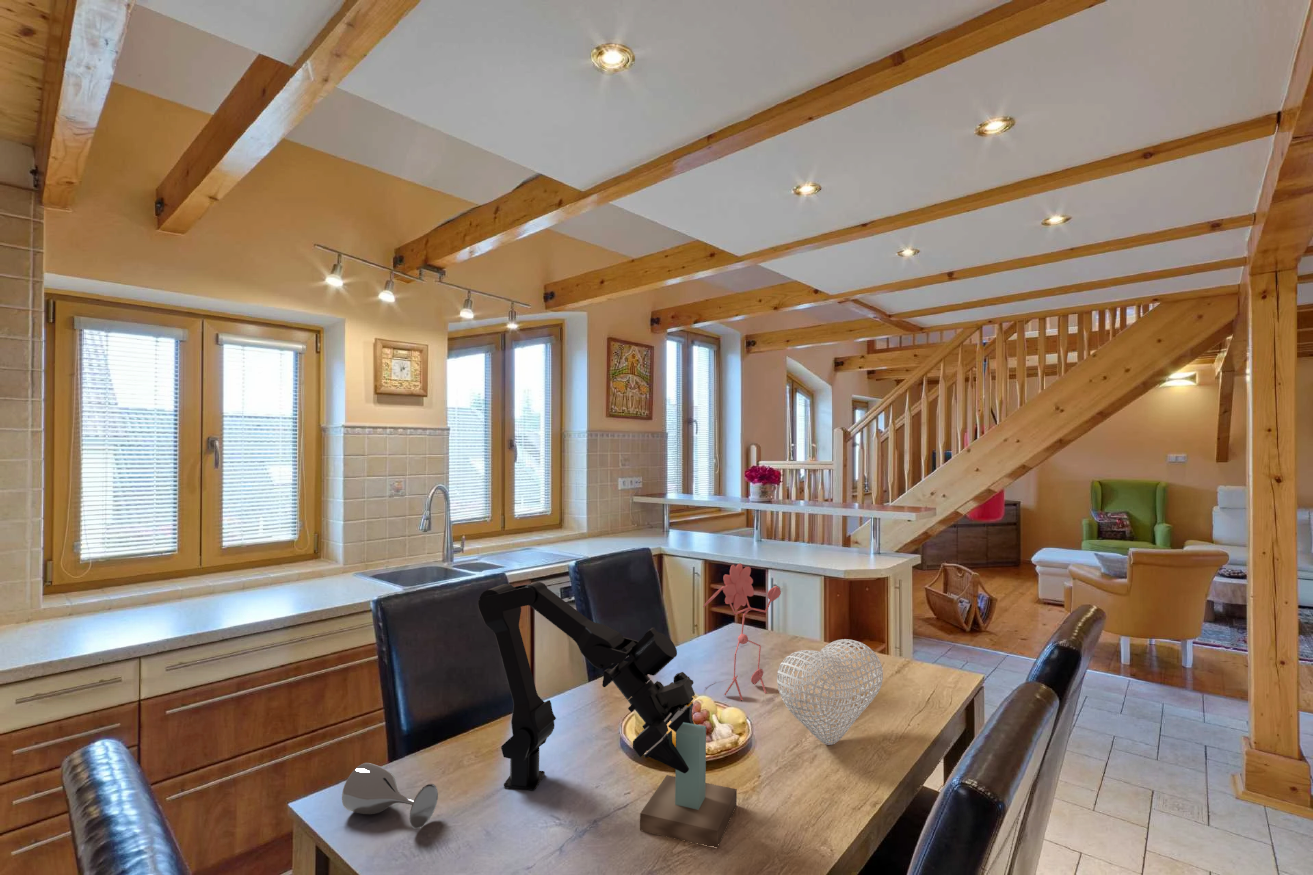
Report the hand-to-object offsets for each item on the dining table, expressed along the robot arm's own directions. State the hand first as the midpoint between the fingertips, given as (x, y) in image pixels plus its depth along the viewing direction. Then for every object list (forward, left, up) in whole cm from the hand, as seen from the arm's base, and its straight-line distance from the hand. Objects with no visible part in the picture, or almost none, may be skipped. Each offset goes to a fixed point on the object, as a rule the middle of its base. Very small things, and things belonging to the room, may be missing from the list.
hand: (694, 759), depth 116 cm
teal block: (0, +1, -8) cm, 8 cm away
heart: (+34, -28, -11) cm, 45 cm away
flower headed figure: (+63, -6, -11) cm, 64 cm away
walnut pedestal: (0, +1, -11) cm, 11 cm away
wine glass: (-10, +47, -7) cm, 48 cm away
